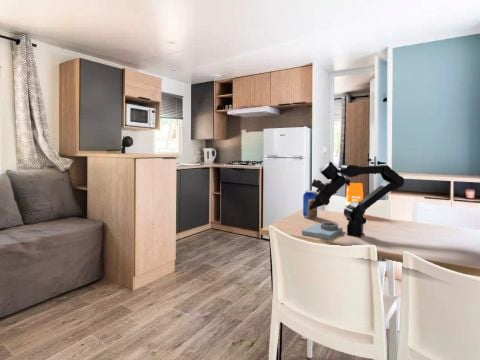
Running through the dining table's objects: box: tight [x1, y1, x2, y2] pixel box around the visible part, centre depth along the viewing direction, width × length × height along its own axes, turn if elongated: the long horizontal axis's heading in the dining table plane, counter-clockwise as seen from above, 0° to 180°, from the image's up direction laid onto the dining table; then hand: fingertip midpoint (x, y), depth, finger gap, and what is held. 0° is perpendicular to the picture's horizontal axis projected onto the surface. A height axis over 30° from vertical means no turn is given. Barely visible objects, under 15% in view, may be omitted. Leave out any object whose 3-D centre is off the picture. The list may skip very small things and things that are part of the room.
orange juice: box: [345, 182, 364, 207], centre depth 190 cm, size 8×9×20 cm
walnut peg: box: [307, 199, 318, 220], centre depth 146 cm, size 4×4×9 cm
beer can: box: [302, 190, 317, 219], centre depth 183 cm, size 8×8×16 cm
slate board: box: [301, 221, 344, 240], centre depth 149 cm, size 14×17×4 cm
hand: (309, 207), depth 146 cm, fingers closed on walnut peg, 4 cm apart
